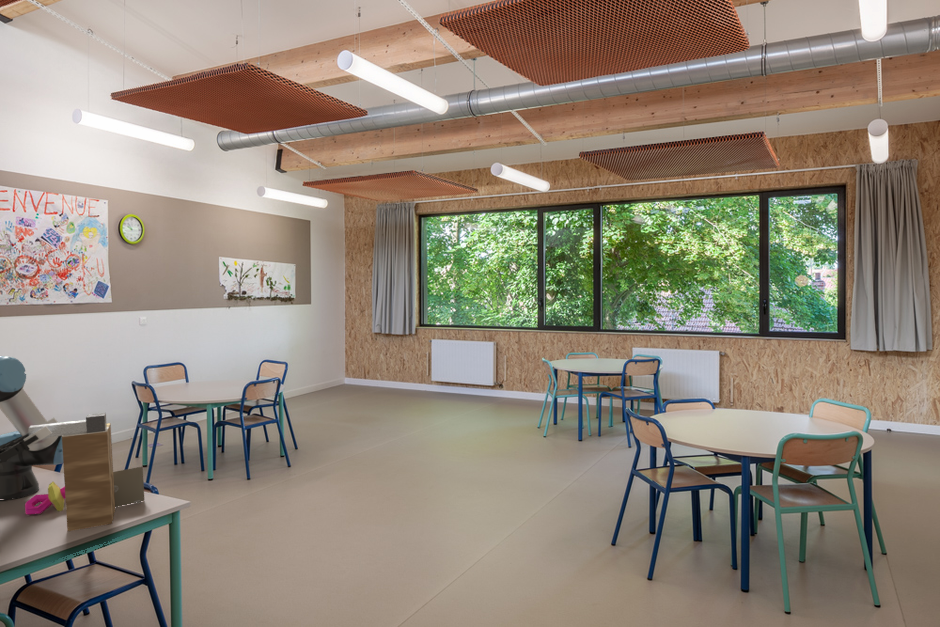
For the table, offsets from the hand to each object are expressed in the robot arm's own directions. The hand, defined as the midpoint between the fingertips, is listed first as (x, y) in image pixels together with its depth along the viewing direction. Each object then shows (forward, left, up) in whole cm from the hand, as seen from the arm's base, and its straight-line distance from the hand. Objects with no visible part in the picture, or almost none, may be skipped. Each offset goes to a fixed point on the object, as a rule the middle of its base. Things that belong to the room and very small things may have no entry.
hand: (52, 425), depth 185 cm
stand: (-4, +9, -33) cm, 35 cm away
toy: (-23, -4, -34) cm, 41 cm away
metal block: (0, +4, -3) cm, 5 cm away
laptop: (-19, +13, -34) cm, 41 cm away
